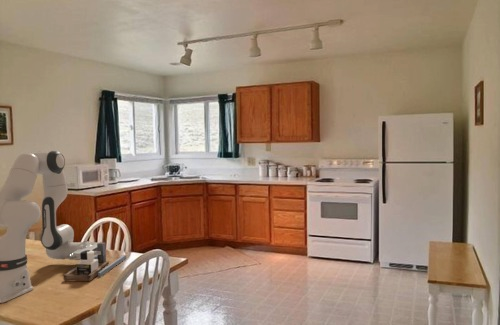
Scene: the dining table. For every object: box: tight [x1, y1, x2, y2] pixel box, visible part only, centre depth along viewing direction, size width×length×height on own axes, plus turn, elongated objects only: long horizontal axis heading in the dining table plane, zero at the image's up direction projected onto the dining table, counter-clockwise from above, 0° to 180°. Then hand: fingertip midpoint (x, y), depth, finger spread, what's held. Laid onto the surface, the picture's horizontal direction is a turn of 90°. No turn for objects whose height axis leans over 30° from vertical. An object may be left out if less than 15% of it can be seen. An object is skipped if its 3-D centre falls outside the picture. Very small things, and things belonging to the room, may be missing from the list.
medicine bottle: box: [76, 250, 98, 275], centre depth 186 cm, size 7×7×12 cm
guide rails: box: [68, 254, 127, 278], centre depth 200 cm, size 29×16×2 cm, turn 174°
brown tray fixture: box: [63, 241, 110, 282], centre depth 191 cm, size 26×12×11 cm, turn 174°
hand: (103, 251), depth 202 cm, fingers open, 3 cm apart
